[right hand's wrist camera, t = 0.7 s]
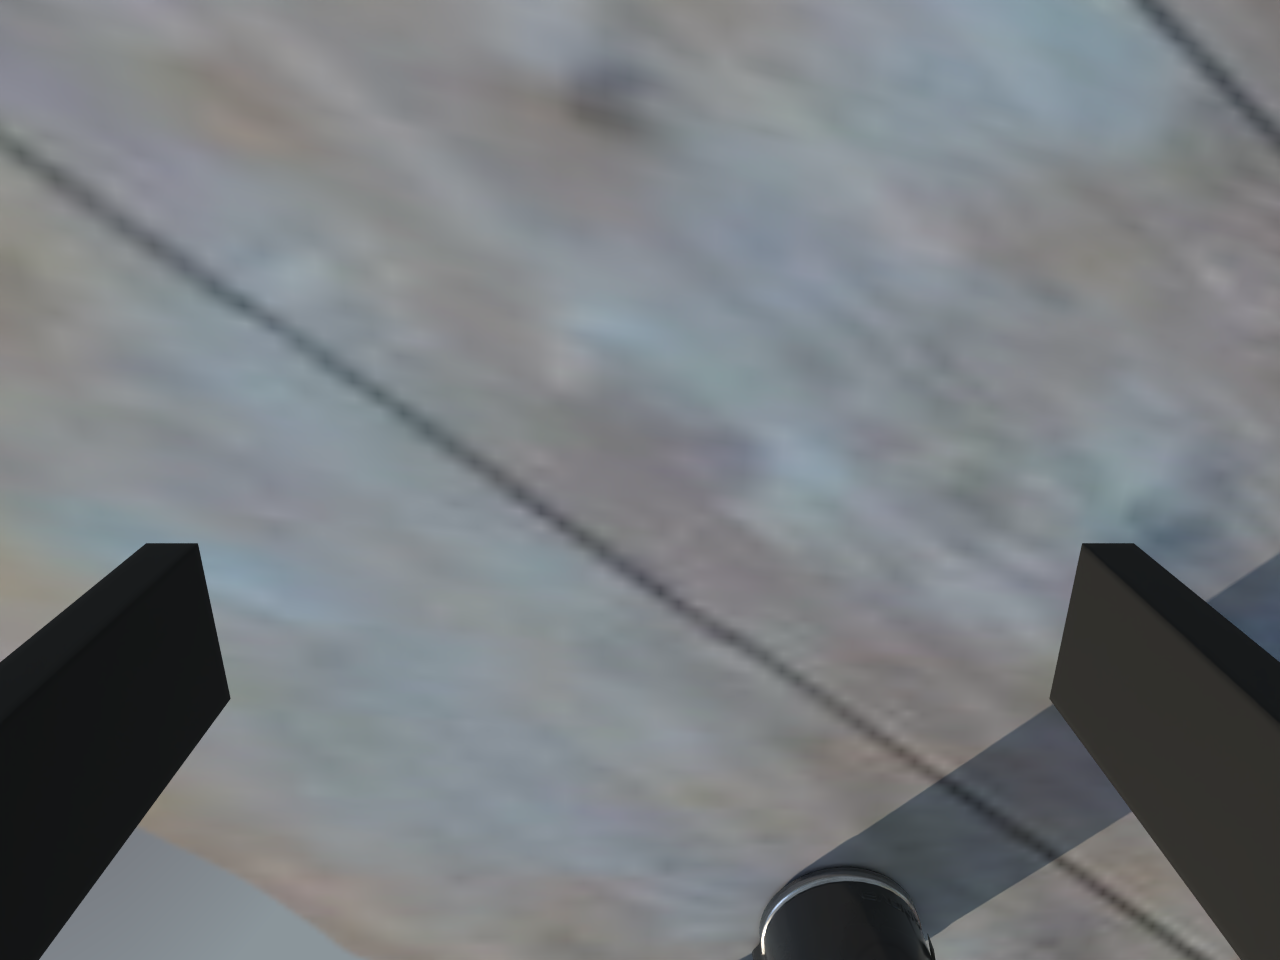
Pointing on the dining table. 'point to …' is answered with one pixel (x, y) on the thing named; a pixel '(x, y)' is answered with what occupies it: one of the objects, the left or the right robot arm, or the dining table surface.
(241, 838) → the dining table surface
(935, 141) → the dining table surface
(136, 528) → the dining table surface
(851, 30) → the dining table surface
